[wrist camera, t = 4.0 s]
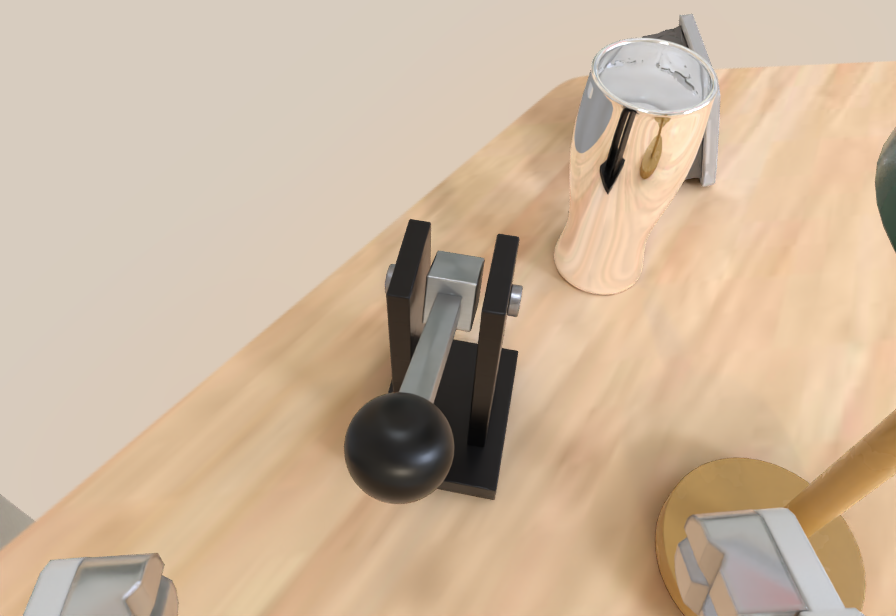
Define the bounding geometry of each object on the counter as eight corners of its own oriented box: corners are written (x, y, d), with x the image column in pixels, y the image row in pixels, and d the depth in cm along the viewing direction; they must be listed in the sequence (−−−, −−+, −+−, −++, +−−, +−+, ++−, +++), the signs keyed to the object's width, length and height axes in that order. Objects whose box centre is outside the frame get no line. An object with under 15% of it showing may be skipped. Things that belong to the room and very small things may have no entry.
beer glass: (646, 229, 50) (715, 41, 38) (650, 306, 46) (730, 123, 34) (548, 218, 51) (587, 29, 38) (544, 294, 46) (587, 109, 34)
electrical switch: (714, 191, 53) (748, 87, 45) (644, 195, 53) (666, 92, 46) (688, 112, 58) (714, 7, 51) (625, 116, 59) (642, 12, 51)
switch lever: (438, 538, 21) (450, 450, 19) (328, 515, 21) (331, 427, 20) (489, 314, 33) (499, 249, 32) (419, 302, 34) (425, 237, 32)
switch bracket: (494, 500, 38) (523, 367, 27) (369, 475, 39) (346, 335, 28) (516, 362, 43) (547, 203, 32) (405, 342, 44) (399, 179, 33)
